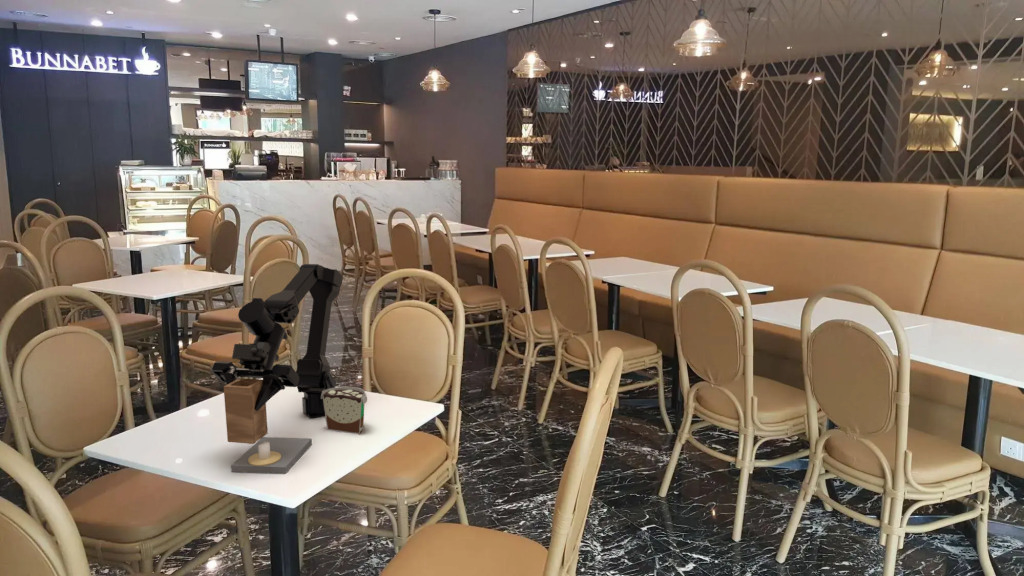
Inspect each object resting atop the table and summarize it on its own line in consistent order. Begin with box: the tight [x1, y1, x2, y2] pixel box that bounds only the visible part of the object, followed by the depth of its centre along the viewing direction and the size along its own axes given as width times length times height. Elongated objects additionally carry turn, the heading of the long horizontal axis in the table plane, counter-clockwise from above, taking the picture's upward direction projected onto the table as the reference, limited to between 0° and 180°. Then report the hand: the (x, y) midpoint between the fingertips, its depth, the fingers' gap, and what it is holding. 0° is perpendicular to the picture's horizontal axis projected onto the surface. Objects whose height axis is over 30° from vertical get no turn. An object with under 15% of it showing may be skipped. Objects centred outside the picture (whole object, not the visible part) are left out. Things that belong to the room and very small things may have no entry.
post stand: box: [230, 436, 313, 475], centre depth 156 cm, size 16×12×5 cm
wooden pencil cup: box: [223, 377, 269, 445], centre depth 151 cm, size 6×6×12 cm
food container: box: [321, 386, 368, 435], centre depth 174 cm, size 12×6×10 cm, turn 71°
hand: (242, 408), depth 149 cm, fingers closed on wooden pencil cup, 6 cm apart
